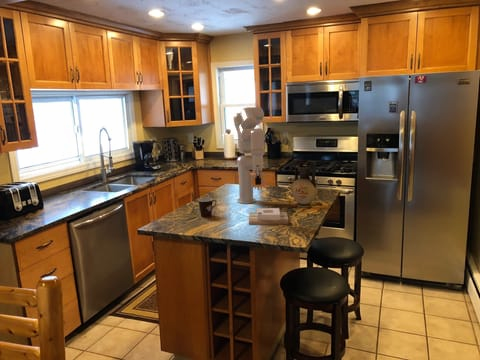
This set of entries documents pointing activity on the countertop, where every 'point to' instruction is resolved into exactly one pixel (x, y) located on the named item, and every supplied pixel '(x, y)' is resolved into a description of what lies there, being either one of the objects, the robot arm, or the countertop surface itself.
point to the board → (254, 220)
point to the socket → (268, 214)
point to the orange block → (262, 176)
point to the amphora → (304, 183)
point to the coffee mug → (206, 206)
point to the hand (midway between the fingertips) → (258, 183)
